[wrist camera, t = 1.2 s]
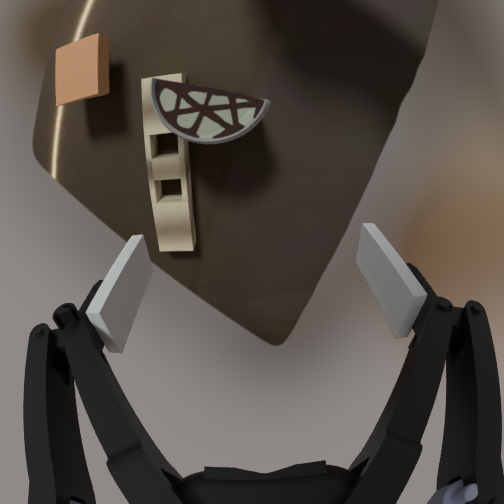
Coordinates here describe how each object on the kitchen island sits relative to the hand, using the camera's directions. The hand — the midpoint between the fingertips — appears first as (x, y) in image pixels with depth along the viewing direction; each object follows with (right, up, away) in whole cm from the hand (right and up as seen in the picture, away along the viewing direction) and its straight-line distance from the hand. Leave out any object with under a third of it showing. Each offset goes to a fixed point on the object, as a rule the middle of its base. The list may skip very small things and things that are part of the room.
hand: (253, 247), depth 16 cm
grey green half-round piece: (-5, +18, +16) cm, 24 cm away
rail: (-11, +12, +18) cm, 24 cm away
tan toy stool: (-21, +24, +10) cm, 34 cm away
